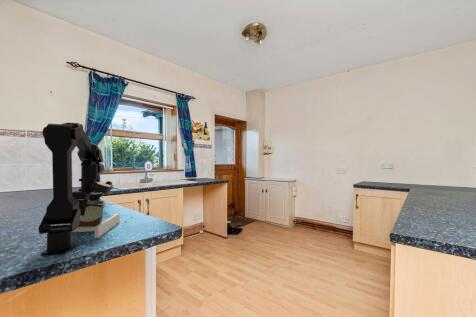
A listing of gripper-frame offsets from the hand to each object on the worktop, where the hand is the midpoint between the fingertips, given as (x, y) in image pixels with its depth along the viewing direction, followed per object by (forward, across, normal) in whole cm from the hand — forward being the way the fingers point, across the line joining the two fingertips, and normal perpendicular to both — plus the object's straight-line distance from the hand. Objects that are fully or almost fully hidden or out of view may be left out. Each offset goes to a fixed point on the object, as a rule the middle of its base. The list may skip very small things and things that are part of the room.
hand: (88, 212), depth 89 cm
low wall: (+6, -4, -10) cm, 12 cm away
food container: (+6, +2, 0) cm, 6 cm away
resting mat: (+6, 0, 0) cm, 6 cm away
